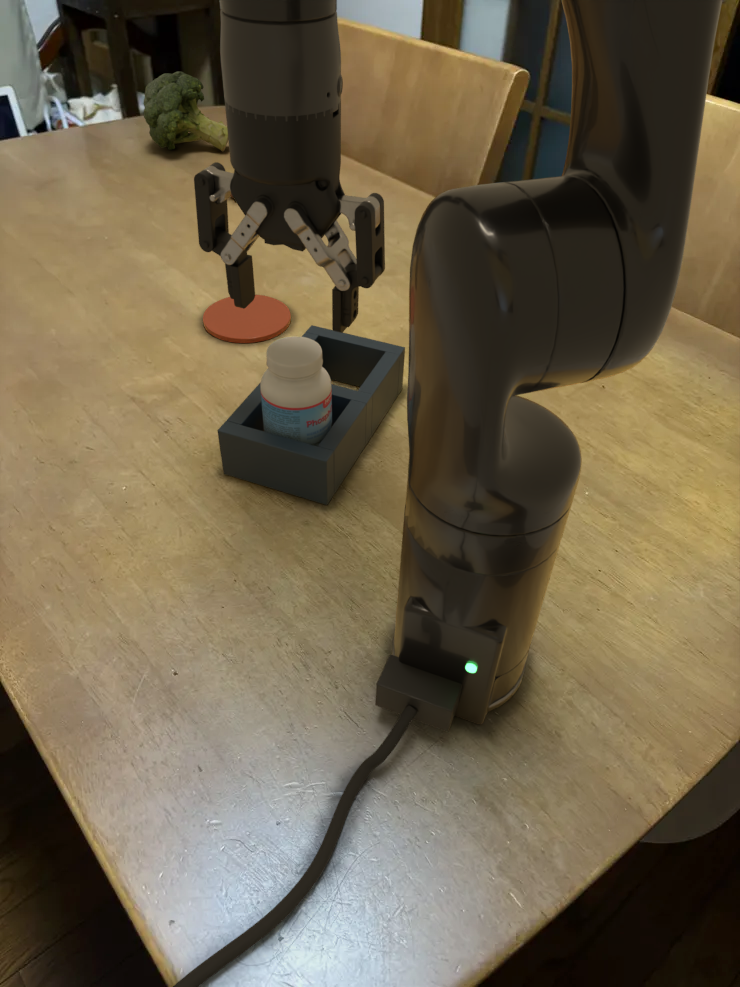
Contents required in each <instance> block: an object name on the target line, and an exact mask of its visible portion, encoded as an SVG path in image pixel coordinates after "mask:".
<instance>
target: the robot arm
mask: <svg viewBox="0 0 740 987" xmlns="http://www.w3.org/2000/svg"><path fill="white" fill-rule="evenodd" d="M218 3H219V9H220V12H219V13H220V14H219V15H220V42H219V43H220V44H219V45H220V46H219V53H220V67H221V68H220V69H221V76H222V78H221V79H222V89H223V97H224V107H225V108H224V109H225V117H226V118H225V120H226V126H227V130H228V152H229V160H230V164H231V166H232V168H233V170H234V171H233V172H230V171H227V170H226V168H225V167H224V165H223V164H222V163H221V162H216V161H215V162H213V163H211V164H210V165H208V166H207V167H205V168H204V169H202V170H201V171H199V172H198V173H196V174H195V175H194V176H193V184H194V199H195V211H196V224H197V236H198V245H199V247H200V249H201V250H202V251H203V252H205V253H211V252H213V253H215V254H216V255H218V256H219V257H220V259H221V261H222V262H223V264H224V267H225V275H226V285H227V293H228V296H229V297H231V299H234V305H235V306H236V307H239V308H243V309H245V308H246V307H247V306H248V305H249V304H250V303H251V302H252V301H253V300H254V298H255V295H256V287H255V278H254V277H255V275H254V265H253V264H254V263H253V255H252V254H248V252H249V251H250V249H251V248H252V247H253V246H254V244H255V243H256V241H257V240H258V238H261V239H262V240H263V241H264V244H266V245H271V246H285V247H287V248H290V250H291V249H292V250H294V251H298V252H304V251H305V250H307V252H308V254H309V255H310V256H311V259H313V261H314V263H315V264H316V266H318V267H320V268H323V269H324V271H325V272H326V273H327V275H328V277H329V278H330V280H331V281H332V283H333V284H334V287H333V288H332V289H331V297H332V298H331V308H332V309H331V312H332V313H331V317H332V318H331V321H332V323H331V327H332V329H331V330H333V331H336V332H340V333H345V331H346V330H347V328H349V327H351V325H352V324H353V323H354V322H355V321H356V319H357V317H358V315H359V296H360V295H359V293H360V292H359V291H360V287H361V288H362V289H370V288H372V286H373V285H375V282H376V280H377V279H378V278H379V277H380V276H382V274H383V273H384V272H385V269H386V250H385V249H386V248H385V245H386V244H385V241H386V240H385V239H386V238H385V200H384V197H383V196H382V195H381V194H380V193H378V192H371V194H369V195H368V196H367V197H362V196H353V195H346V193H345V191H344V190H343V187H342V184H341V180H340V176H341V175H340V174H341V164H342V94H343V85H344V84H343V83H344V82H343V76H342V51H341V41H340V34H339V25H338V12H337V10H338V0H218ZM561 3H562V8H563V14H564V17H565V21H566V26H567V32H568V38H569V43H570V44H569V45H570V46H569V47H570V58H571V59H570V60H571V105H570V106H571V107H570V121H569V124H570V125H569V131H568V132H569V133H568V134H569V135H568V142H567V149H566V156H565V160H564V165H563V169H562V174H561V175H559V176H549V177H542V178H532V179H531V178H530V179H522V180H514V181H513V180H512V181H511V180H510V181H503V182H492V183H483V184H474V185H467V186H460V187H456V188H452V189H449V190H445V191H443V192H441V193H439V194H438V195H436V196H435V197H434V198H433V199H432V200H431V201H430V202H429V203H428V205H426V206H427V207H425V210H424V211H423V213H422V215H421V217H420V220H419V222H418V225H417V228H416V230H415V235H414V239H413V242H412V248H411V255H410V256H411V257H410V265H409V286H408V368H407V369H408V370H407V371H408V372H407V375H408V376H407V388H406V421H407V436H408V453H409V454H408V466H407V480H406V494H405V505H404V515H403V525H402V538H401V550H400V561H399V575H398V585H397V586H398V587H397V599H396V609H395V622H394V624H395V625H394V633H393V638H392V643H391V654H390V653H389V656H388V657H387V660H386V663H385V664H384V667H383V669H382V670H381V673H380V675H379V678H378V680H377V682H376V686H375V704H374V705H375V706H376V707H378V708H380V709H381V708H382V709H384V710H387V711H389V712H392V713H394V714H397V715H399V717H398V719H397V720H396V721H395V723H394V724H393V726H392V728H391V729H390V731H389V733H388V734H387V736H386V737H385V739H384V740H383V741H382V742H381V744H380V745H379V746H378V747H377V749H376V750H375V751H374V752H373V753H372V754H370V755H369V756H368V757H367V758H366V759H364V760H363V761H362V762H361V763H360V765H359V766H358V767H357V769H356V770H355V771H354V773H353V775H352V776H351V778H350V779H349V781H348V783H347V785H346V786H345V788H344V790H343V792H342V794H341V796H340V798H339V801H338V803H337V805H336V807H335V811H334V812H333V815H332V817H331V820H330V823H329V825H328V828H327V830H326V833H325V835H324V837H323V840H322V841H321V844H320V846H319V848H318V851H317V852H316V854H315V856H314V858H313V860H312V861H311V863H310V865H309V866H308V868H307V869H306V870H305V872H304V873H303V874H302V876H301V877H300V879H299V880H298V881H297V882H296V883H295V885H294V886H293V887H292V888H291V889H290V891H289V892H288V893H287V894H286V895H285V896H284V897H283V898H282V899H281V900H280V901H279V902H278V903H277V904H276V905H275V906H274V907H273V908H272V909H271V910H270V911H269V912H268V913H266V914H265V915H264V916H263V917H261V919H259V920H258V921H257V922H255V923H254V924H253V925H251V926H250V927H249V928H248V929H246V930H244V932H242V933H241V934H240V935H238V936H237V937H236V938H234V939H232V941H229V943H227V944H226V945H224V946H223V947H221V949H219V950H218V951H216V952H215V953H213V954H211V955H210V956H209V957H208V958H207V959H205V960H204V961H203V962H200V964H199V965H197V966H196V967H195V968H193V969H192V970H191V971H190V972H188V974H186V975H185V976H183V977H182V978H181V979H180V980H179V981H177V982H176V983H175V984H174V985H172V987H201V985H203V984H204V983H205V982H207V981H208V980H209V979H211V978H212V977H213V976H214V975H215V974H217V973H218V972H220V971H221V970H222V969H224V968H225V967H226V966H228V965H229V964H230V963H232V962H234V961H235V960H236V959H238V958H239V957H240V956H242V955H243V954H244V953H245V952H247V951H249V950H250V949H251V948H252V947H253V946H255V945H257V943H259V942H260V941H261V940H263V939H264V938H265V937H266V936H267V935H268V934H270V933H271V932H273V930H275V929H276V928H277V927H278V926H279V925H280V924H281V923H283V922H284V920H285V919H287V918H288V916H289V915H290V914H292V912H293V911H294V910H295V909H296V908H297V907H298V905H300V904H301V902H302V901H303V900H304V899H305V897H306V896H307V895H308V894H309V893H310V891H311V890H312V889H313V887H315V885H316V883H317V882H318V880H319V878H320V877H321V875H322V874H323V872H324V870H326V867H327V865H328V863H329V861H330V860H331V857H332V854H333V853H334V850H335V848H336V846H337V844H338V841H339V838H340V836H341V833H342V830H343V827H344V825H345V823H346V819H347V817H348V814H349V812H350V810H351V807H352V805H353V803H354V801H355V799H356V797H357V795H358V793H359V792H360V789H361V788H362V787H363V785H364V783H365V782H366V780H368V777H369V776H370V775H371V773H373V771H374V770H375V769H376V768H378V767H380V766H381V764H383V763H385V761H386V760H387V758H389V756H390V755H391V754H392V752H393V751H394V750H395V748H396V747H397V746H398V744H399V743H400V741H401V739H402V738H403V736H404V735H405V733H406V732H407V729H409V727H410V725H411V724H412V722H413V721H417V722H418V723H421V724H424V725H428V726H430V727H433V728H435V729H438V730H441V731H443V732H446V733H449V732H450V729H451V726H452V723H453V721H454V718H455V717H457V718H460V719H463V720H465V721H467V722H469V723H474V724H476V725H482V724H483V723H484V722H485V719H486V716H487V714H488V712H491V711H493V710H496V709H498V708H499V707H501V706H503V705H504V704H505V703H507V702H508V701H509V700H511V699H512V697H513V696H514V695H515V694H516V692H517V691H518V689H519V688H520V686H521V684H522V680H523V678H524V675H525V672H526V671H525V670H526V664H527V659H528V655H529V653H530V649H531V646H532V641H533V637H534V634H535V631H536V628H537V624H538V620H539V618H540V613H541V611H542V607H543V603H544V599H545V596H546V593H547V589H548V586H549V583H550V579H551V576H552V572H553V569H554V566H555V562H556V559H557V555H558V552H559V548H560V545H561V542H562V538H563V536H564V533H565V529H566V525H567V522H568V518H569V515H570V511H571V508H572V505H573V501H574V498H575V495H576V490H577V488H578V484H579V482H580V476H581V472H582V466H583V464H582V463H583V460H582V459H583V458H582V450H581V446H580V443H579V442H578V439H577V437H576V435H575V434H574V432H573V431H572V429H571V428H570V427H569V426H568V425H567V423H566V422H565V421H564V420H563V419H562V418H560V416H558V415H557V414H556V413H554V412H553V411H552V410H550V409H548V408H547V407H545V406H543V405H541V404H539V403H537V402H535V401H534V400H531V399H530V398H526V397H523V396H519V395H526V394H530V393H535V392H541V391H542V392H543V391H548V390H552V389H558V388H563V387H569V386H573V385H578V384H584V383H589V382H594V381H598V380H602V379H607V378H610V377H614V376H616V375H620V374H622V373H625V372H627V371H629V370H631V369H633V368H634V367H635V366H638V365H639V364H640V363H642V361H643V360H644V359H645V358H646V357H647V356H648V355H649V354H650V353H651V351H652V350H653V349H654V346H656V343H657V342H658V340H660V337H661V335H662V334H663V331H664V328H665V326H666V323H667V321H668V318H669V315H670V313H671V310H672V307H673V303H674V300H675V297H676V294H677V293H676V292H677V288H678V283H679V279H680V274H681V269H682V264H683V258H684V254H685V245H686V241H687V240H686V239H687V233H688V227H689V221H690V220H689V219H690V213H691V206H692V198H693V194H694V193H693V192H694V187H695V186H694V185H695V177H696V171H697V164H698V158H699V151H700V143H701V135H702V128H703V121H704V116H705V114H704V113H705V107H706V100H707V92H708V88H709V86H708V85H709V80H710V75H711V74H710V73H711V66H712V61H713V54H714V47H715V41H716V35H717V30H718V25H719V20H720V14H721V10H722V5H723V0H561ZM231 194H232V196H233V197H232V198H233V199H234V202H236V204H237V205H238V207H239V209H240V210H241V212H242V213H243V215H244V216H243V218H242V220H241V221H240V223H239V224H238V225H237V226H236V228H235V229H234V231H233V232H232V234H231V233H230V232H229V230H230V228H229V212H228V211H229V210H228V199H229V198H231V196H230V195H231ZM341 215H344V216H345V217H346V219H347V220H348V225H349V229H350V230H351V231H353V232H354V233H355V254H354V253H353V251H352V249H351V248H350V245H349V244H350V240H349V238H348V236H347V234H346V232H345V231H344V229H343V228H342V226H341V225H340V223H339V222H338V219H339V218H340V217H341ZM324 236H325V238H326V239H327V242H328V244H327V245H326V243H325V241H324V240H323V238H324Z"/></svg>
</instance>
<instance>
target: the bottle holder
mask: <svg viewBox="0 0 740 987" xmlns="http://www.w3.org/2000/svg"><path fill="white" fill-rule="evenodd" d="M301 337H306V338H309V339H312V340H314V341H316V342H317V343H318V344H319V345H320V346H321V349H322V359H323V364H322V367H323V368H324V369H325V370H326V371H327V373H328V374H329V376H330V379H331V381H335V382H339V383H343V384H347V385H350V386H355V387H357V388H358V390H356V389H352V388H348V387H344V386H340V385H337V384H333V383H331V388H332V427H331V429H330V430H329V432H328V433H327V434H326V436H325V437H324V439H323V440H322V441H321V443H320V444H319V445H318V447H317V446H314V445H310V444H306V443H303V442H299V441H296V440H292V439H289V438H285V437H282V436H278V435H275V434H271V433H267V432H264V425H263V414H262V401H261V387H260V383H261V381H260V382H259V383H258V384H257V386H256V387H254V389H253V390H252V391H251V392H250V393H249V394H248V395H247V397H246V398H245V399H243V401H242V402H241V403H240V404H239V406H238V407H237V408H236V409H235V410H234V411H233V412H232V413H231V414H230V416H229V417H228V418H227V419H226V420H225V421H224V422H223V424H221V425H220V427H219V428H218V429H217V436H218V438H217V439H218V446H219V453H220V460H221V465H222V473H223V475H226V476H230V477H233V478H235V479H240V480H242V481H246V482H248V483H249V482H250V483H252V484H256V485H260V486H262V487H266V488H269V489H272V490H276V491H278V492H282V493H286V494H289V495H292V496H296V497H299V498H302V499H305V500H309V501H312V502H315V503H318V504H321V505H325V506H328V505H329V503H330V501H331V500H332V498H333V497H334V495H335V494H336V492H337V491H338V489H339V488H340V486H341V484H342V483H343V482H344V481H345V479H346V477H347V475H348V474H349V472H350V470H352V468H353V467H354V464H355V463H356V462H357V460H358V458H359V457H360V455H361V454H362V452H363V450H364V449H365V447H366V446H367V444H368V443H369V442H370V440H371V438H372V437H373V435H374V433H375V432H376V431H377V429H378V427H379V425H380V424H381V423H382V421H383V420H384V418H385V416H386V415H387V413H388V412H389V410H390V409H391V407H392V406H393V405H394V403H395V401H396V400H397V398H398V396H399V395H400V394H401V392H402V390H403V387H404V386H403V385H404V384H403V383H404V372H405V371H404V370H405V368H404V367H405V355H406V347H405V346H402V345H397V344H393V343H389V342H385V341H380V340H376V339H372V338H368V337H364V336H359V335H355V334H351V333H346V332H343V333H340V332H336V331H333V329H330V328H325V327H322V326H317V325H313V324H311V325H310V326H309V328H307V329H306V331H305V332H304V333H303V334H302V336H301Z"/></svg>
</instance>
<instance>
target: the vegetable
mask: <svg viewBox="0 0 740 987" xmlns="http://www.w3.org/2000/svg"><path fill="white" fill-rule="evenodd" d="M203 89H204V85H203V83H202V81H201V80H200V79H199V78H197V77H194V76H192V75H190V74H187V73H185V72H184V71H178V70H177V71H175V72H173V73H169V72H168V73H163V74H161V75H159V76H158V77H157V78H154V80H152V81H151V82H148V84H146V86H145V90H144V99H143V106H144V109H143V118H144V120H145V123H146V124H147V125H148V127H149V132H148V133H149V137H150V139H151V140H152V141H153V142H154V143H155V144H157V146H158V147H159V148H167V150H169V151H170V150H175V149H176V146H175V145H176V144H182V143H190V142H196V141H204V142H206V143H209V144H211V145H212V146H213V147H214V148H216V149H218V150H220V151H221V152H224V151H225V150H226V147H227V146H228V143H229V141H228V130H227V125H225V124H224V122H223V121H222V120H221V121H218V122H217V121H215V120H212V119H210V118H209V117H208V116H206V115H205V114H204V113H202V111H201V110H200V108H199V107H198V102H199V101H200V103H202V102H203V101H205V95H204V93H203V92H202V90H203Z"/></svg>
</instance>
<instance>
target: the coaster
mask: <svg viewBox="0 0 740 987" xmlns="http://www.w3.org/2000/svg"><path fill="white" fill-rule="evenodd" d="M291 315H292V314H291V310H290V308H289V307H288V306H287V305H286V304H285V303H284V302H282V301H281V300H279V299H277V298H274V297H271V296H268V295H262V294H255V298H254V300H253V301H252V302H251V303H250V304H249V305H248V306H247V307H246V308H245V309H243V308H239V307H236V306H235V305H234V299H231V297H230V296H228V297H224V298H221V299H219V300H217V301H215V302H213V303H212V304H210V305H209V306H208V307H207V308H206V309H205V310H204V312H203V315H202V323H203V327H204V329H205V330H206V331H207V333H208V334H210V335H211V336H212V337H214V338H215V339H219V340H222V341H224V342H229V343H236V344H253V343H260V342H264V341H268V340H271V339H274V338H276V337H278V336H279V335H281V334H283V333H284V332H285V331H286V330H287V329H288V328H289V326H290V325H291V321H292V316H291Z"/></svg>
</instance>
